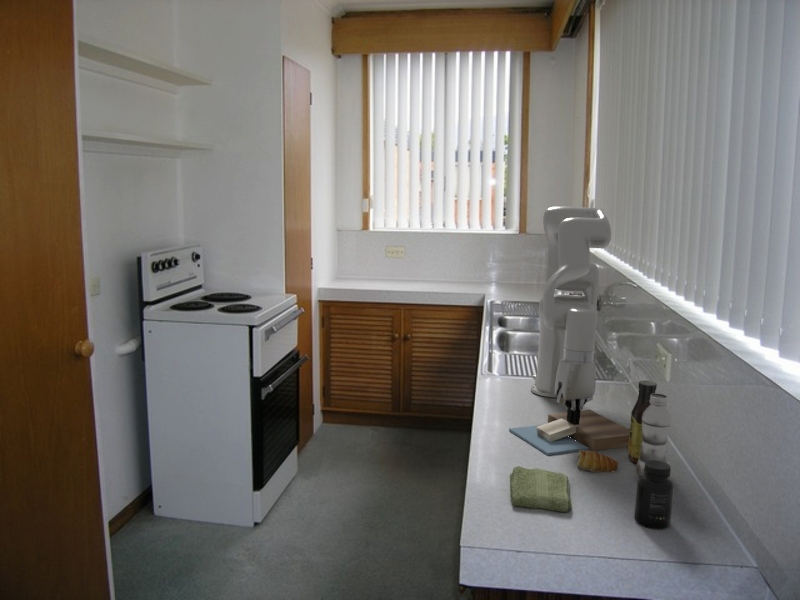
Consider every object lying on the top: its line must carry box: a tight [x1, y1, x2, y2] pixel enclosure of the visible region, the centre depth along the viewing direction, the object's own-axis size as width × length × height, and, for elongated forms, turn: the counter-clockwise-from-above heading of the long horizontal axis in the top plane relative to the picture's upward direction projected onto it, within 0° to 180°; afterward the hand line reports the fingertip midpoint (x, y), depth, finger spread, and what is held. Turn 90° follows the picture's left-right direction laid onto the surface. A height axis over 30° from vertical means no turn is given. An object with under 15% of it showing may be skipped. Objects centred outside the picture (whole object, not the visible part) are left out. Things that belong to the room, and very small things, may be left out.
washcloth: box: [509, 465, 573, 513], centre depth 152 cm, size 13×18×3 cm
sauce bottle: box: [627, 379, 658, 464], centre depth 170 cm, size 6×6×20 cm
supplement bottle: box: [633, 460, 675, 530], centre depth 140 cm, size 7×7×12 cm
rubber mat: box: [508, 424, 589, 456], centre depth 184 cm, size 18×12×1 cm, turn 23°
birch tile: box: [536, 418, 576, 442], centre depth 185 cm, size 6×8×2 cm
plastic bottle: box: [635, 392, 673, 478], centre depth 159 cm, size 6×7×20 cm
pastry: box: [576, 449, 619, 474], centre depth 167 cm, size 9×7×4 cm
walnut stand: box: [547, 409, 630, 452], centre depth 189 cm, size 20×14×3 cm
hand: (572, 423), depth 186 cm, fingers closed
